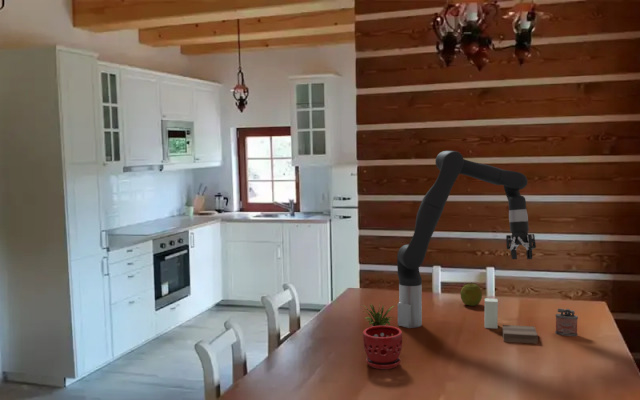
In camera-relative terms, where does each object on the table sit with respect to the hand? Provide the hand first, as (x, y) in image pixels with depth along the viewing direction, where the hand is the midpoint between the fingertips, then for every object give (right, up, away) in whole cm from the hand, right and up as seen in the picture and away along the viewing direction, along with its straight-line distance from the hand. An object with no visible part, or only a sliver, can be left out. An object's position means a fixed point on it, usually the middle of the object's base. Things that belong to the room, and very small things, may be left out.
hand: (522, 259), depth 256 cm
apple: (-14, -24, +28) cm, 40 cm away
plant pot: (-63, -31, -49) cm, 86 cm away
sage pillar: (-15, -27, -6) cm, 31 cm away
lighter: (+11, -28, -18) cm, 35 cm away
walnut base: (-8, -28, -22) cm, 36 cm away
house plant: (-64, -30, -27) cm, 75 cm away
